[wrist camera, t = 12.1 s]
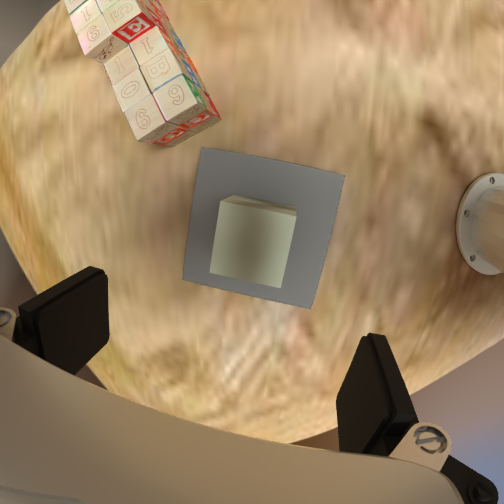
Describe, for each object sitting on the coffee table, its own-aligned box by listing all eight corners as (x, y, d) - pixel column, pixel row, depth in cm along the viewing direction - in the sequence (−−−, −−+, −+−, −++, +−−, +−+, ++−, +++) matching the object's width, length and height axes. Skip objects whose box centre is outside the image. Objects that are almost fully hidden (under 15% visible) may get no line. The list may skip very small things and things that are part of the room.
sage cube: (296, 206, 29) (296, 216, 24) (283, 265, 31) (280, 288, 25) (234, 194, 30) (220, 201, 24) (224, 252, 32) (209, 272, 26)
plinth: (340, 174, 31) (345, 175, 28) (309, 297, 35) (311, 309, 32) (209, 148, 32) (201, 146, 29) (190, 270, 36) (182, 279, 33)
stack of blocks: (224, 119, 31) (186, 96, 19) (174, 147, 32) (116, 141, 21) (154, -9, 27) (107, -55, 15) (113, 18, 28) (58, -17, 17)
